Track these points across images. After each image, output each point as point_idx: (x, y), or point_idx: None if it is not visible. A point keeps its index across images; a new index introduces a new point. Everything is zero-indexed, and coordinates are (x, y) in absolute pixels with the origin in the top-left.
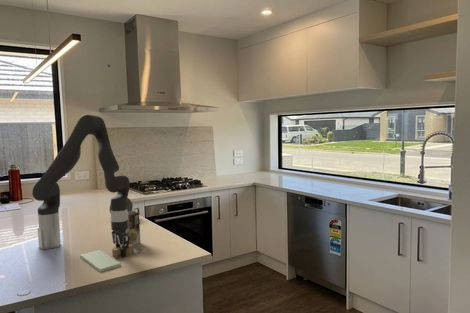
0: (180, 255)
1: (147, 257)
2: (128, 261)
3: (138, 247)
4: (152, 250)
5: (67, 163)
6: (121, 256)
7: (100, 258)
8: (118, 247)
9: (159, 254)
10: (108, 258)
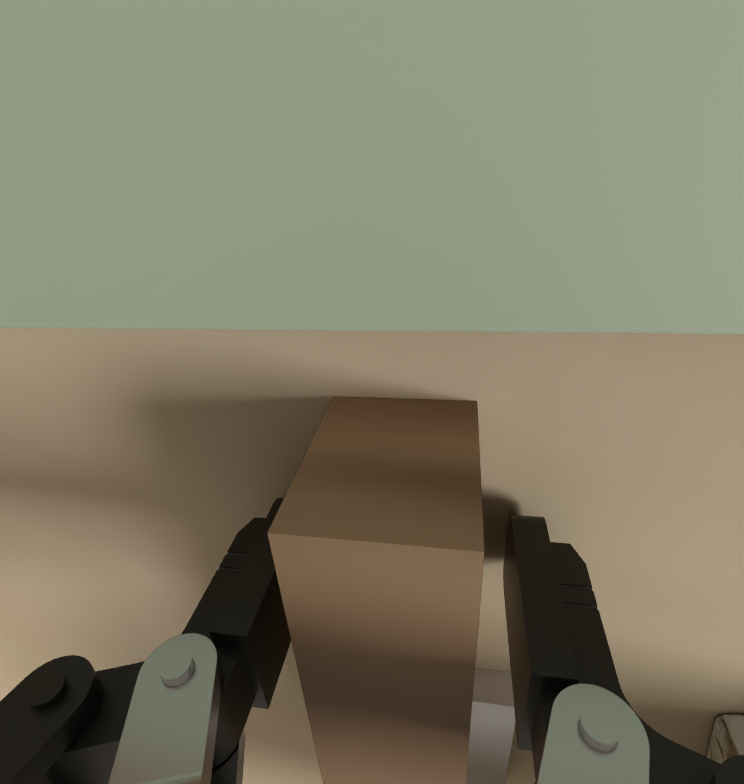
0: None
1: (114, 657)
2: (72, 476)
3: (470, 776)
4: (307, 771)
5: None
6: None
7: (399, 21)
8: (425, 667)
9: None
10: (245, 242)
